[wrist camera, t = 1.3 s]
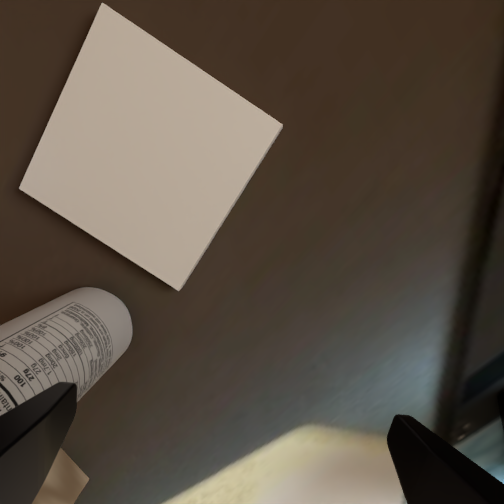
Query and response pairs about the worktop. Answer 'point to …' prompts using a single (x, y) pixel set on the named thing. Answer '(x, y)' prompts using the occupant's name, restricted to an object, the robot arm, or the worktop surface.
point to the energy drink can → (62, 344)
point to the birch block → (62, 482)
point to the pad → (146, 149)
